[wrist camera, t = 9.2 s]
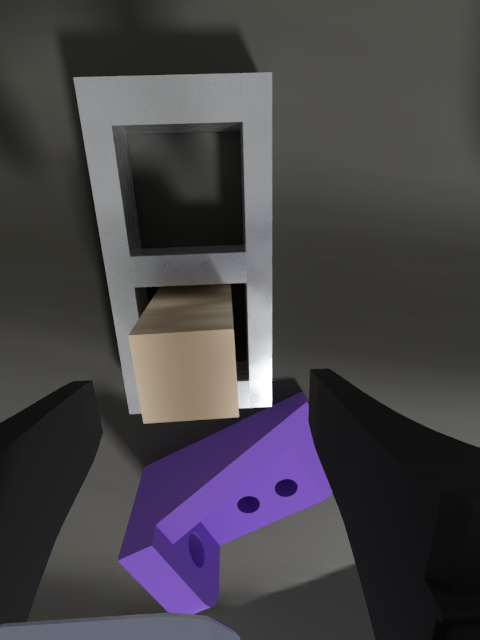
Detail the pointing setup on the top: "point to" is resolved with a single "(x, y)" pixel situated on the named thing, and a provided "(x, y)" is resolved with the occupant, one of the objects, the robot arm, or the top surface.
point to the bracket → (219, 501)
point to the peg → (186, 355)
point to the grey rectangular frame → (183, 262)
